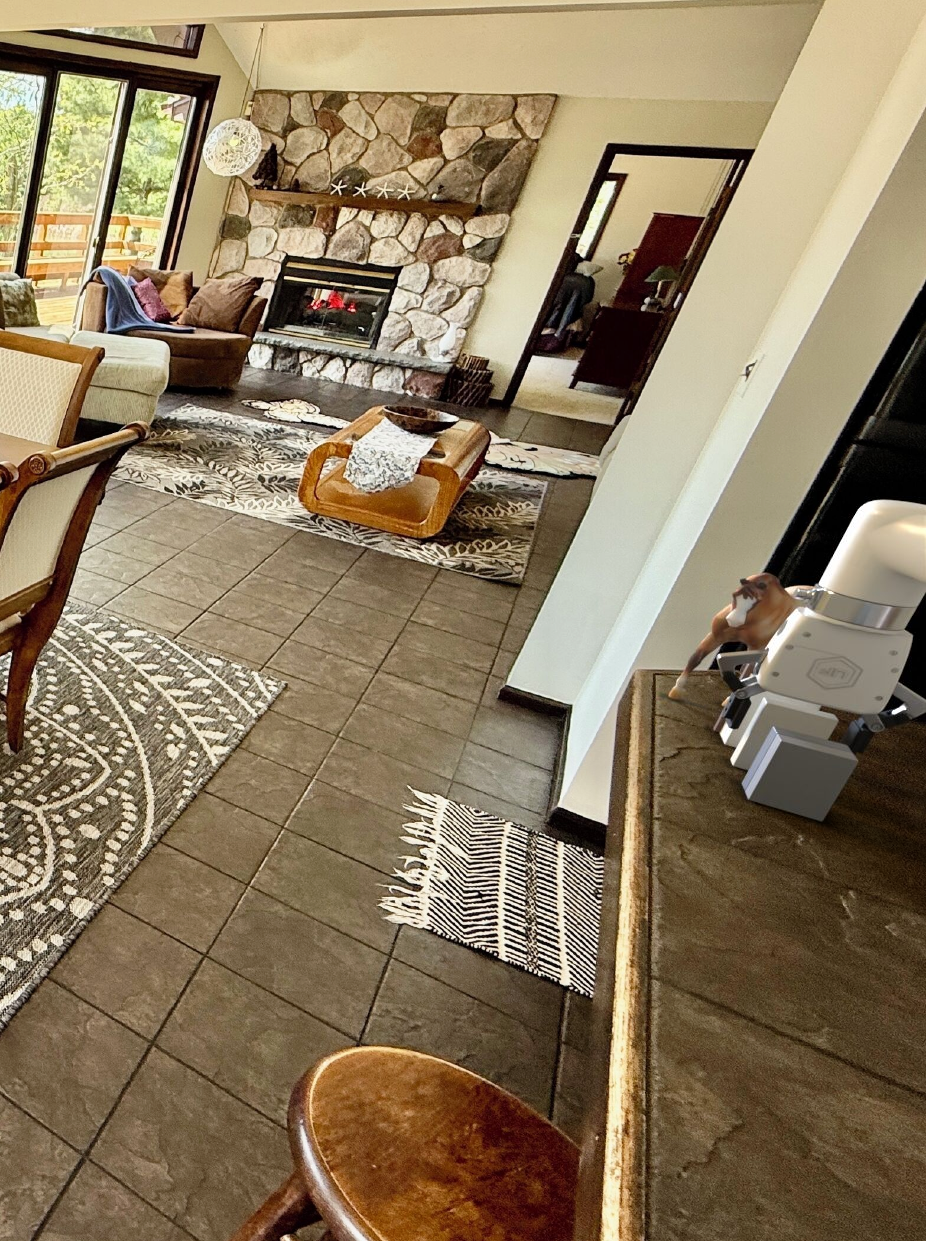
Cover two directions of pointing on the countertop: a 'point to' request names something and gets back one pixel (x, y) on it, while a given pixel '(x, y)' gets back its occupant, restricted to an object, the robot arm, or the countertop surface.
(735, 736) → the white books
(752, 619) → the horse figurine
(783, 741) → the grey books
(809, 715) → the white book
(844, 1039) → the countertop surface
